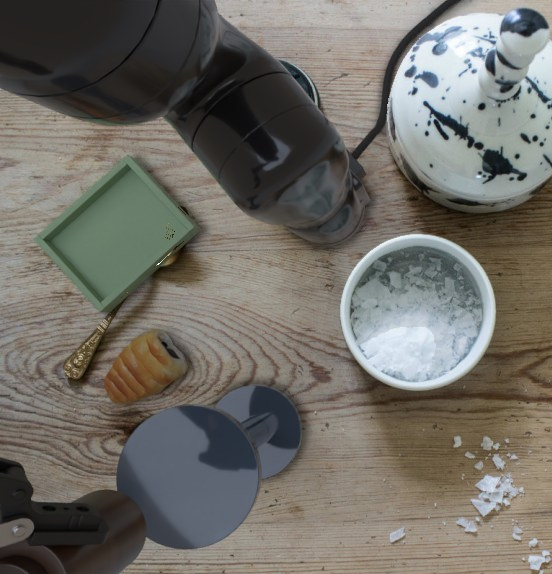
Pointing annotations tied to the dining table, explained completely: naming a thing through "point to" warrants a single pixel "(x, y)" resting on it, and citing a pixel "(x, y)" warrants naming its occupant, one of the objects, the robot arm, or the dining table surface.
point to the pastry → (144, 368)
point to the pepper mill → (86, 558)
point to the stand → (207, 463)
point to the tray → (116, 234)
